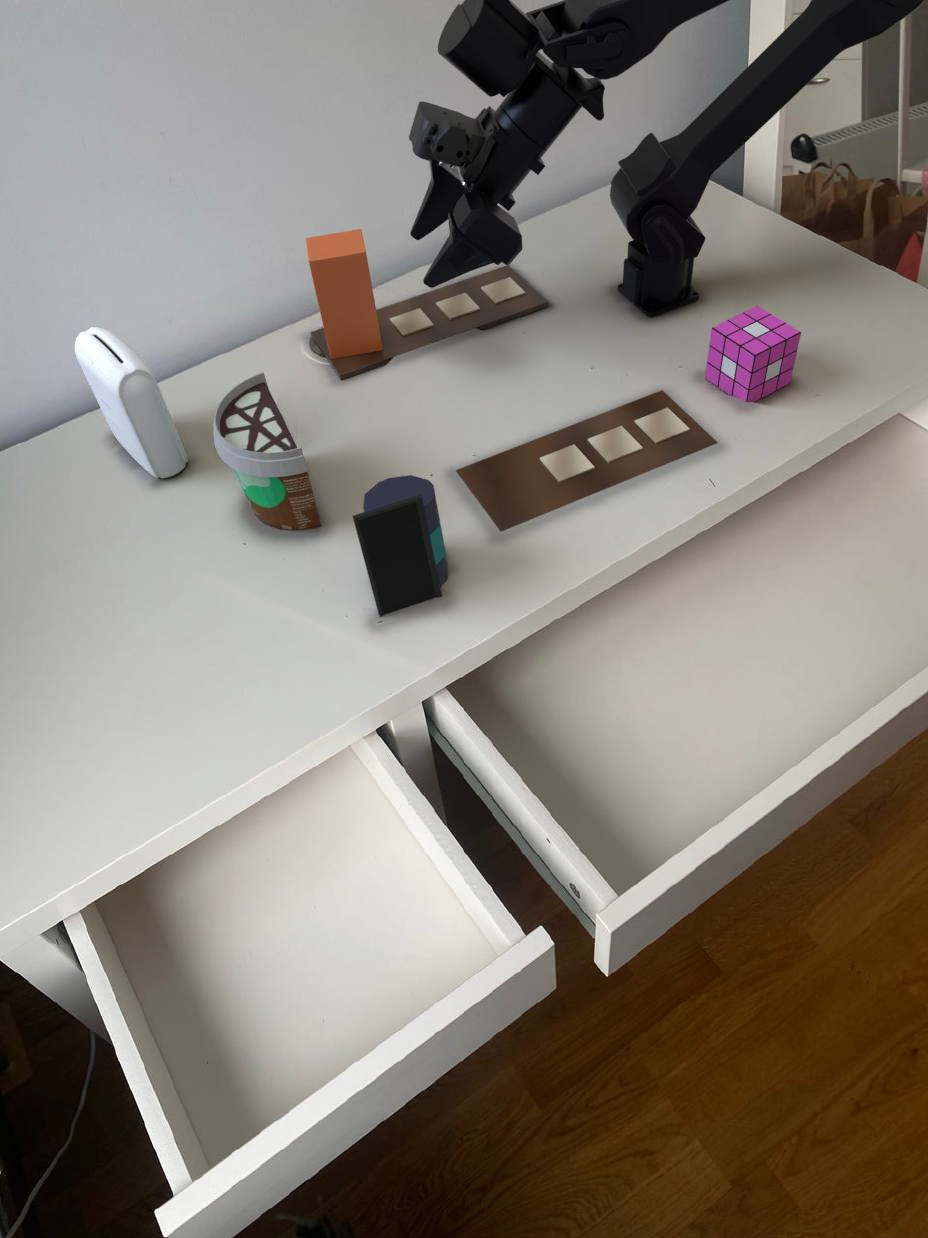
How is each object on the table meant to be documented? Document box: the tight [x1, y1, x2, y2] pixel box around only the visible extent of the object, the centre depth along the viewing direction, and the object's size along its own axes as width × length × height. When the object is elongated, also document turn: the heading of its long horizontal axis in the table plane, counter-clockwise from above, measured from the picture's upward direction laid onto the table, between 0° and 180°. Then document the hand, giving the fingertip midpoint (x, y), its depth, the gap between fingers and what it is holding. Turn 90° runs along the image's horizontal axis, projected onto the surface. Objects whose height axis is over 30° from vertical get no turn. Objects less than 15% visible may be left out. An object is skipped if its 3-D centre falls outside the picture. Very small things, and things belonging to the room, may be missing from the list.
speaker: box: [352, 474, 449, 618], centre depth 74 cm, size 8×6×10 cm
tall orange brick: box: [305, 228, 383, 359], centre depth 95 cm, size 6×4×11 cm
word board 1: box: [310, 265, 548, 381], centre depth 101 cm, size 24×9×1 cm, turn 116°
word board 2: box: [455, 389, 719, 532], centre depth 85 cm, size 22×9×1 cm, turn 116°
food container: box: [213, 371, 322, 532], centre depth 81 cm, size 12×6×10 cm, turn 23°
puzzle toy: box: [704, 305, 802, 403], centre depth 88 cm, size 6×6×6 cm
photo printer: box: [74, 326, 189, 479], centre depth 87 cm, size 10×4×12 cm, turn 39°
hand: (420, 260), depth 93 cm, fingers open, 9 cm apart
